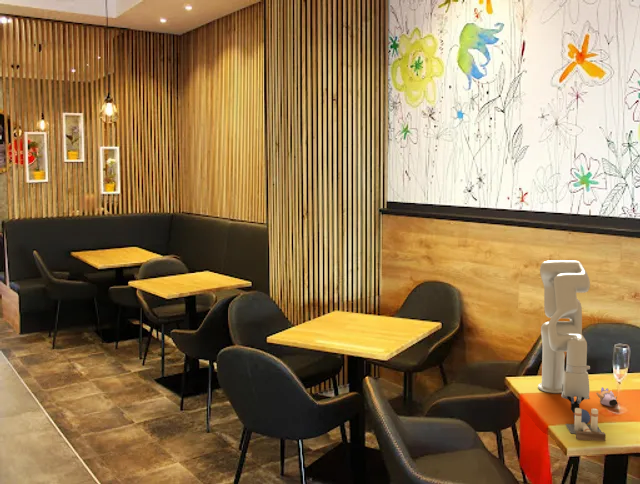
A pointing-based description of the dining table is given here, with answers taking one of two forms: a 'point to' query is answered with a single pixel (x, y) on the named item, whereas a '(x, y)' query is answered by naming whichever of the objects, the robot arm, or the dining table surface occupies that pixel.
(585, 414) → the ball
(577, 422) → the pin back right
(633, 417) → the dining table surface
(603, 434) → the backstop
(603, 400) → the toy
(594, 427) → the pin back left
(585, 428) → the pin front
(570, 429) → the pin deck mark
